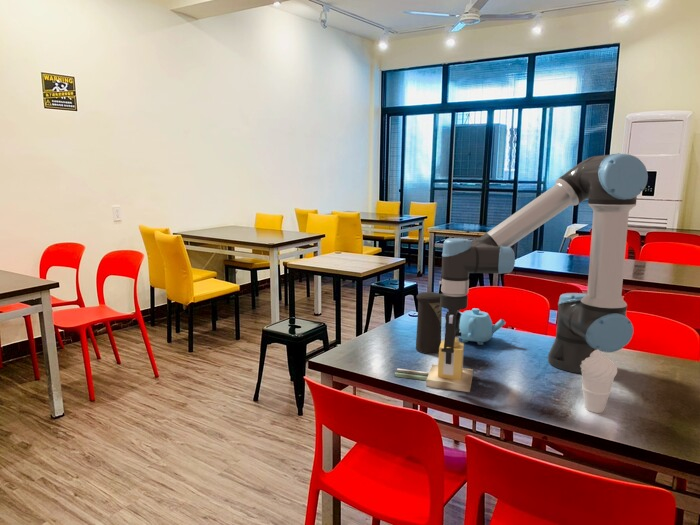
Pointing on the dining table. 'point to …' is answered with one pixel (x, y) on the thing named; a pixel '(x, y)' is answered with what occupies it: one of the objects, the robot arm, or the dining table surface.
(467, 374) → the block
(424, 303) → the container
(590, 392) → the soft serve ice cream cone
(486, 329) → the teapot
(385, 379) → the dining table surface
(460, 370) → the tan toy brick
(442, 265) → the robot arm
